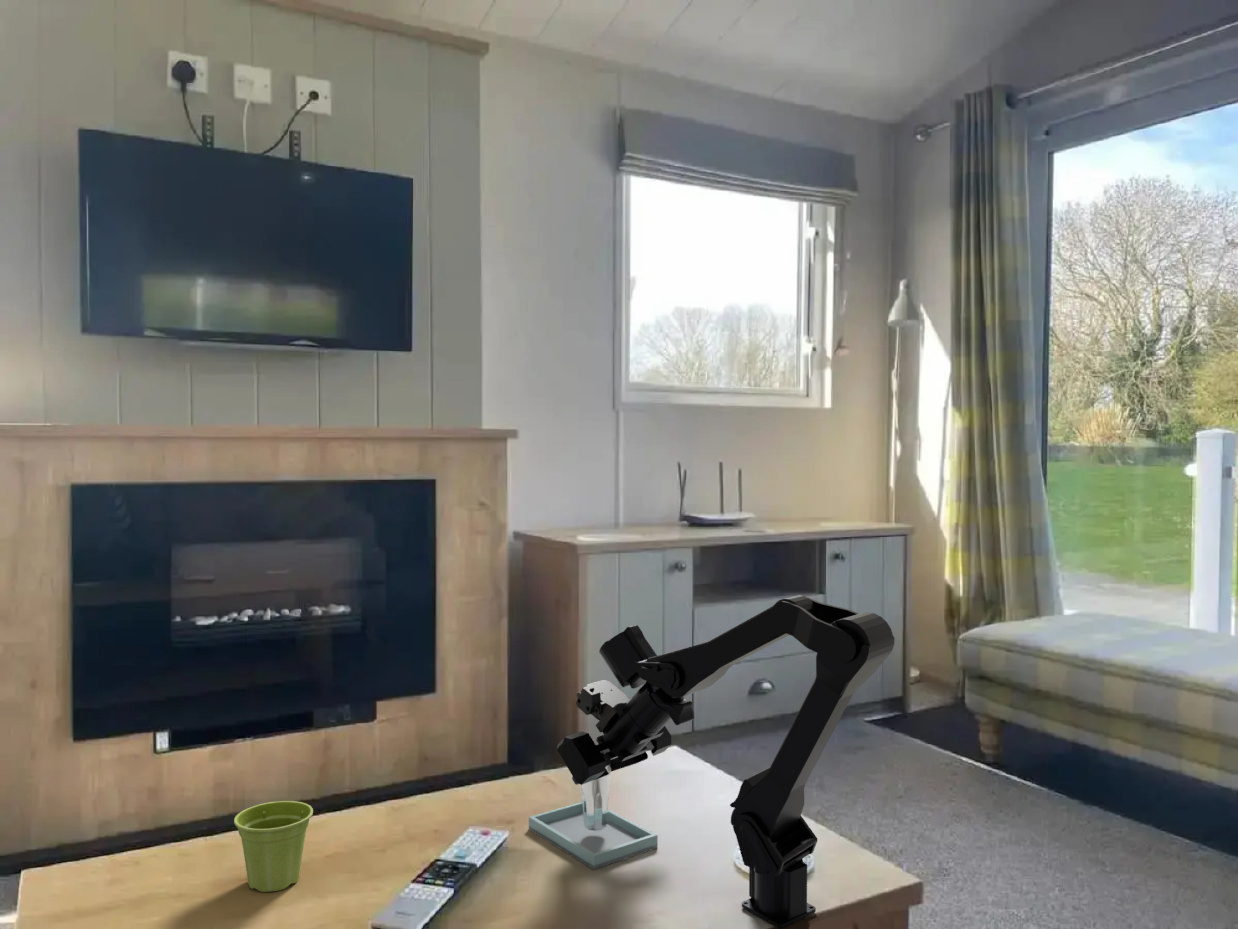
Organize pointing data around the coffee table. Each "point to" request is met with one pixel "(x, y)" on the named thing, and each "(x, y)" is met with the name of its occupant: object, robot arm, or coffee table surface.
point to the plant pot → (273, 842)
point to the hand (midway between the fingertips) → (585, 777)
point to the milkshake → (596, 802)
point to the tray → (592, 836)
